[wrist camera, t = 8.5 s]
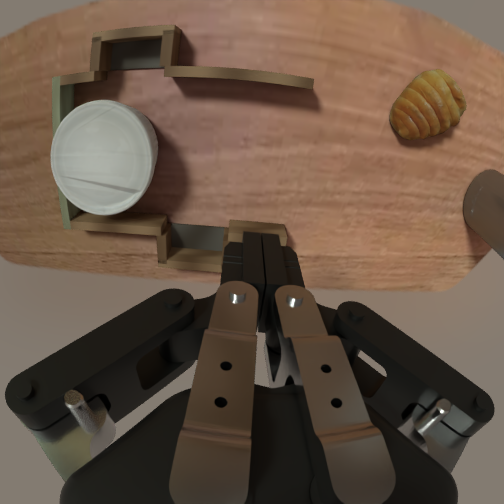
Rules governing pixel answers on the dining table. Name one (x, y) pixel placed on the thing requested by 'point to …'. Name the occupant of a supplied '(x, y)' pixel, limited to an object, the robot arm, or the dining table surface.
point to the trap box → (168, 234)
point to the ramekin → (104, 156)
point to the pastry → (427, 106)
